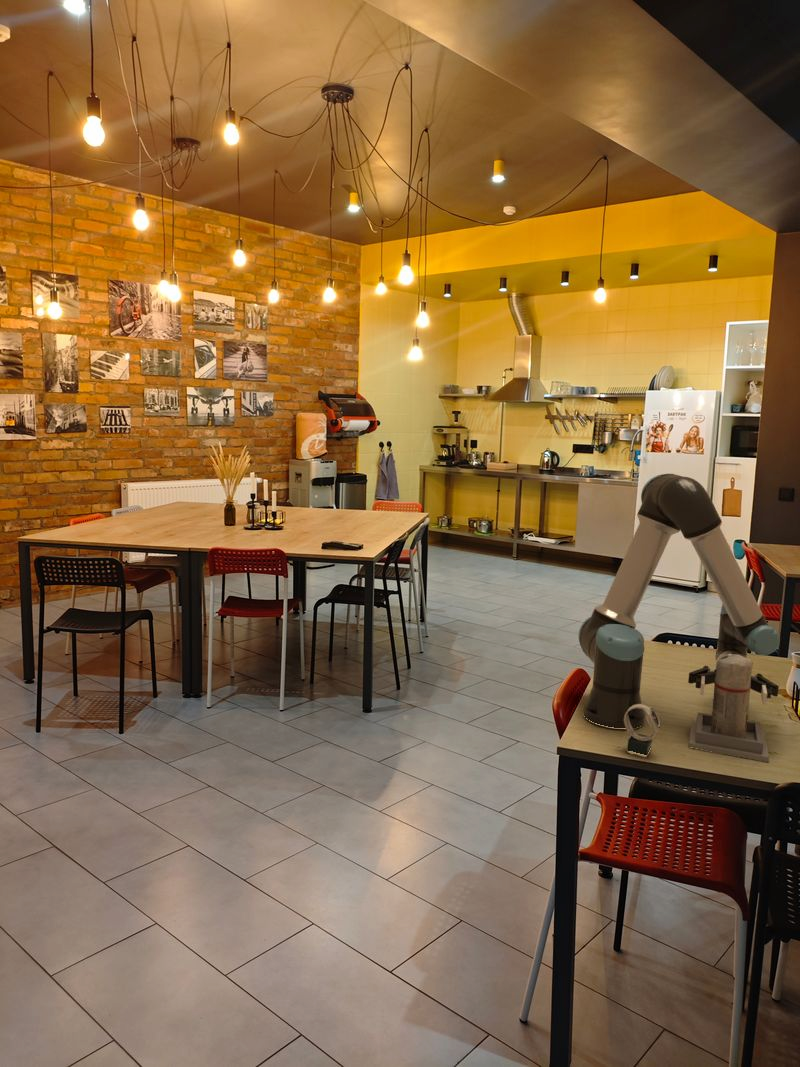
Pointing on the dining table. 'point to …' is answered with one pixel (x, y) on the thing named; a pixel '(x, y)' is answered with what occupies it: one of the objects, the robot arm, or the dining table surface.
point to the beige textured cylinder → (731, 696)
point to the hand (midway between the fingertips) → (733, 694)
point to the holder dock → (729, 739)
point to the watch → (640, 741)
